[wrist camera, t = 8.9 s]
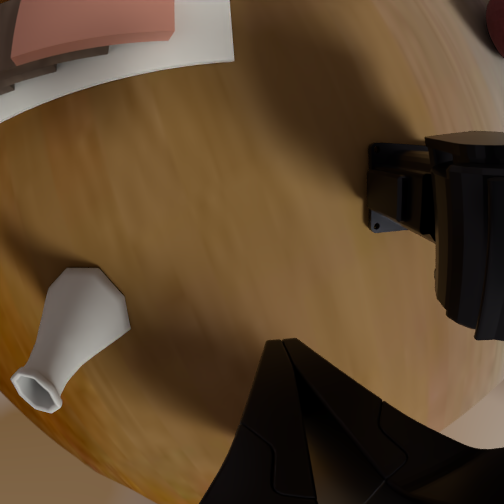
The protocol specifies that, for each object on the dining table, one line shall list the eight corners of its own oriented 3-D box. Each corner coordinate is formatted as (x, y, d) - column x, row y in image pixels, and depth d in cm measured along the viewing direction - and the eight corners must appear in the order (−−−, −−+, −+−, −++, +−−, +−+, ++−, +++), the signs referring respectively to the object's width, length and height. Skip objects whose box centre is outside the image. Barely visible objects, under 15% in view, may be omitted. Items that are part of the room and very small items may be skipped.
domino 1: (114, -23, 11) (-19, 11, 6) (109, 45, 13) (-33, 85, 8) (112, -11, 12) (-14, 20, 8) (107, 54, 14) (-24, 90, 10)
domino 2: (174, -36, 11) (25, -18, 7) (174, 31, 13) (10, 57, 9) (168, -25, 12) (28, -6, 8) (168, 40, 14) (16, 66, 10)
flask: (38, 279, 19) (-32, 348, 10) (104, 251, 19) (34, 329, 10) (79, 349, 22) (37, 434, 12) (146, 333, 22) (117, 433, 12)
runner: (225, -45, 12) (225, -48, 12) (233, 61, 16) (234, 59, 15) (-16, 37, 11) (-19, 36, 10) (-24, 135, 14) (-27, 135, 14)
